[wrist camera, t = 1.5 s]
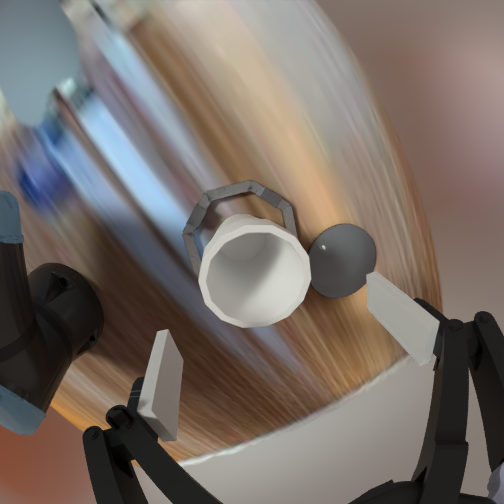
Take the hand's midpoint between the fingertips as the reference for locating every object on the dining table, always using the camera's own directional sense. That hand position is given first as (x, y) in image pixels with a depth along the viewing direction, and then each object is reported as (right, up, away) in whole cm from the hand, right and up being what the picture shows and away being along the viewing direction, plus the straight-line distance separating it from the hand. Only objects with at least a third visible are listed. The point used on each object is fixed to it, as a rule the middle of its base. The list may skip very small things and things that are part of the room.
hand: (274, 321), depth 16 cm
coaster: (+11, +3, +21) cm, 24 cm away
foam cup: (-3, +6, +18) cm, 19 cm away
